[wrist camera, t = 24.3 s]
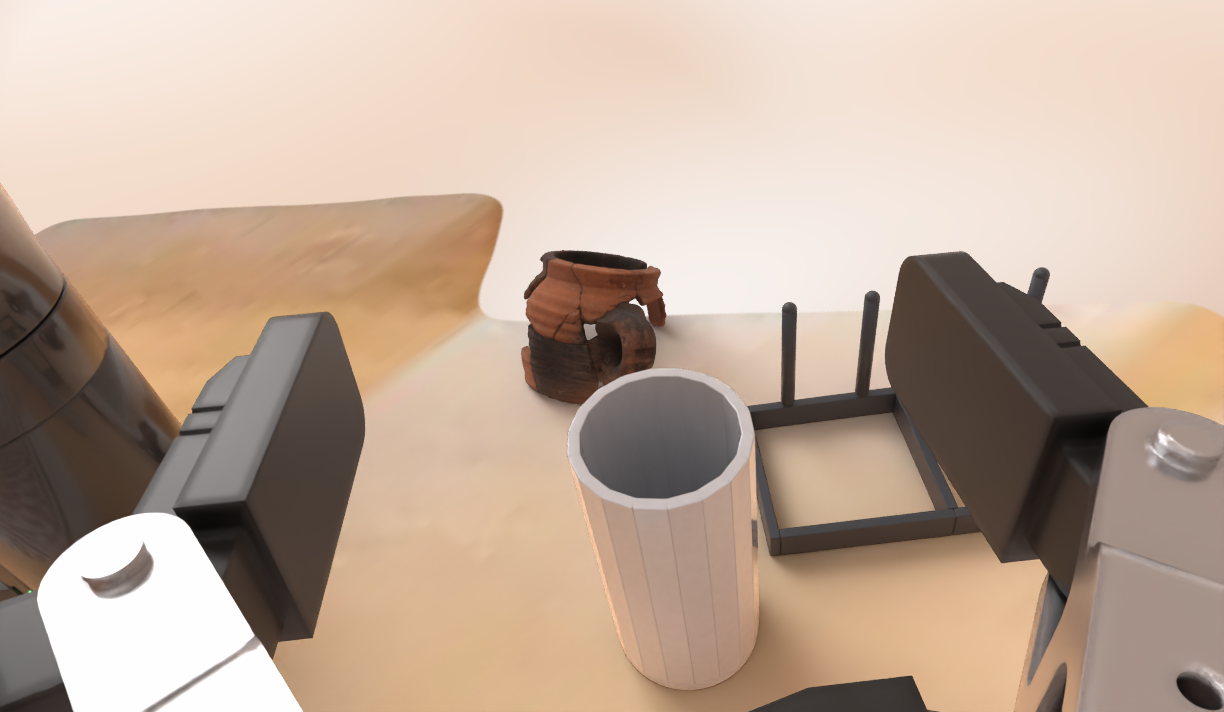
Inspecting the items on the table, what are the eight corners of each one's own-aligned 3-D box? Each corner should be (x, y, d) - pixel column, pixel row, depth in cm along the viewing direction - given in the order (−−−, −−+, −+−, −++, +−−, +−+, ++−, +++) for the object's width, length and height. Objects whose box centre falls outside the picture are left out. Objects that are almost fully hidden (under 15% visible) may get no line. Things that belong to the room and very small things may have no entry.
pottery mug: (492, 368, 50) (502, 243, 48) (614, 362, 55) (629, 249, 53) (578, 437, 41) (596, 285, 38) (717, 423, 45) (740, 287, 43)
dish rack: (770, 556, 37) (769, 440, 31) (739, 423, 43) (734, 306, 37) (1139, 513, 36) (1209, 384, 30) (1051, 383, 42) (1095, 256, 36)
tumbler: (621, 699, 33) (566, 521, 24) (615, 566, 38) (567, 379, 29) (771, 683, 32) (770, 497, 24) (745, 551, 37) (736, 356, 28)
